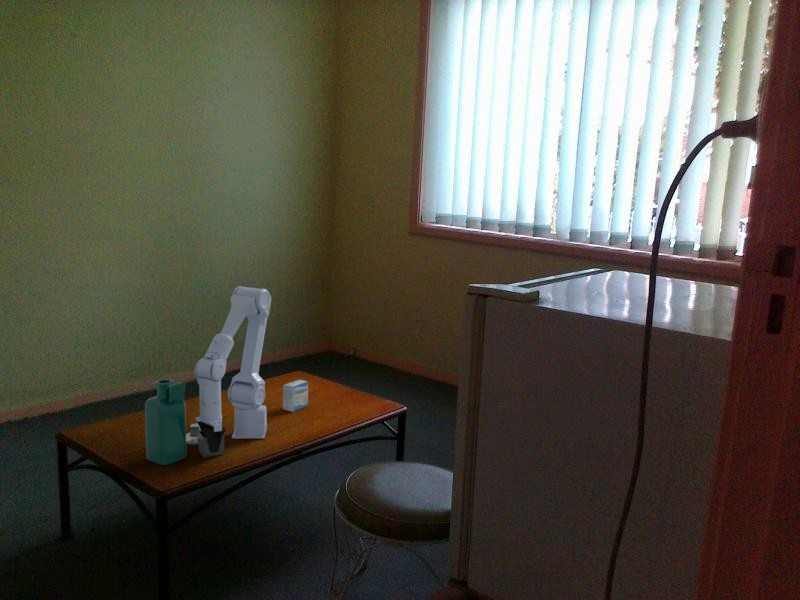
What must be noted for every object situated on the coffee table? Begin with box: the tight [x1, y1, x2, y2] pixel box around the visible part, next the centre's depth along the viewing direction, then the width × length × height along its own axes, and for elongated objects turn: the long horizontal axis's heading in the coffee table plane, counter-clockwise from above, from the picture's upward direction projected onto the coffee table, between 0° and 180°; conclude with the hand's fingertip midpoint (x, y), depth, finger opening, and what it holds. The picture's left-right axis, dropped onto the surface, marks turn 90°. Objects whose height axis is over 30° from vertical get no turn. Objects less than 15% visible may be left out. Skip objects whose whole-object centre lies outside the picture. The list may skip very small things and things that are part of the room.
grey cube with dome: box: [198, 430, 225, 459], centre depth 197 cm, size 6×6×6 cm
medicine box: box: [282, 379, 309, 413], centre depth 236 cm, size 8×4×9 cm, turn 148°
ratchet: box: [186, 421, 201, 446], centre depth 211 cm, size 17×6×5 cm, turn 5°
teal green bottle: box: [144, 378, 187, 466], centre depth 191 cm, size 10×8×22 cm
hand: (211, 447), depth 197 cm, fingers closed on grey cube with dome, 6 cm apart
